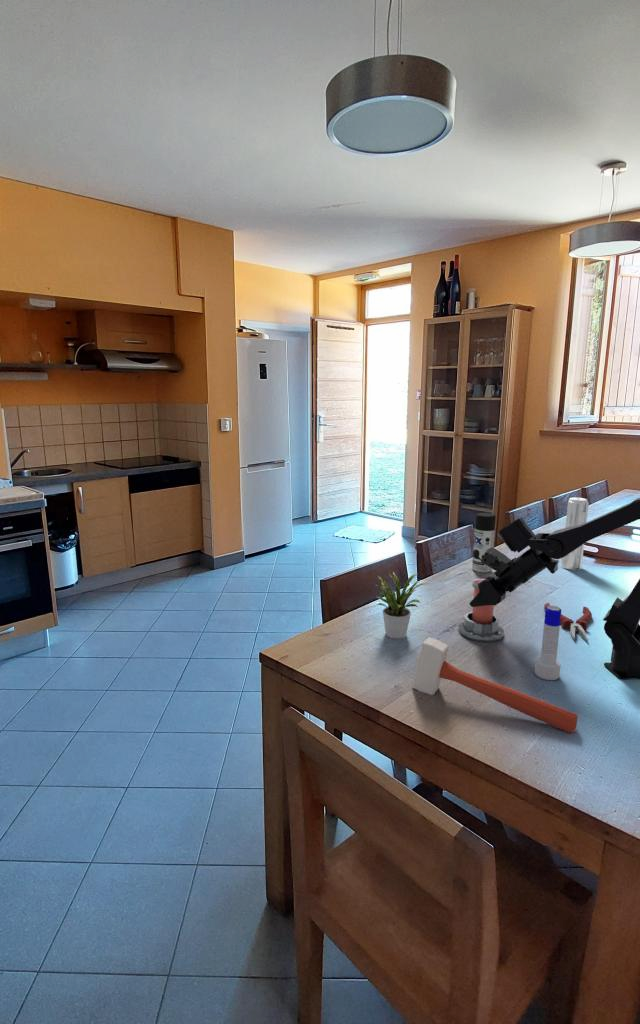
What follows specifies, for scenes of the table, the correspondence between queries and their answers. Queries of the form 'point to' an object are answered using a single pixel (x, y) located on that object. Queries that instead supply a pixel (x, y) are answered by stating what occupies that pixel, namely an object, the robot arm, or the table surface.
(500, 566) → the robot arm
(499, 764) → the table surface
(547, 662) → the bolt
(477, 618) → the orange capped cylinder
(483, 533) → the spray can
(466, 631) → the pipe socket
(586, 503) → the white tall cylinder
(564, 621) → the pliers
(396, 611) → the house plant
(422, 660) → the mallet
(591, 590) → the table surface
